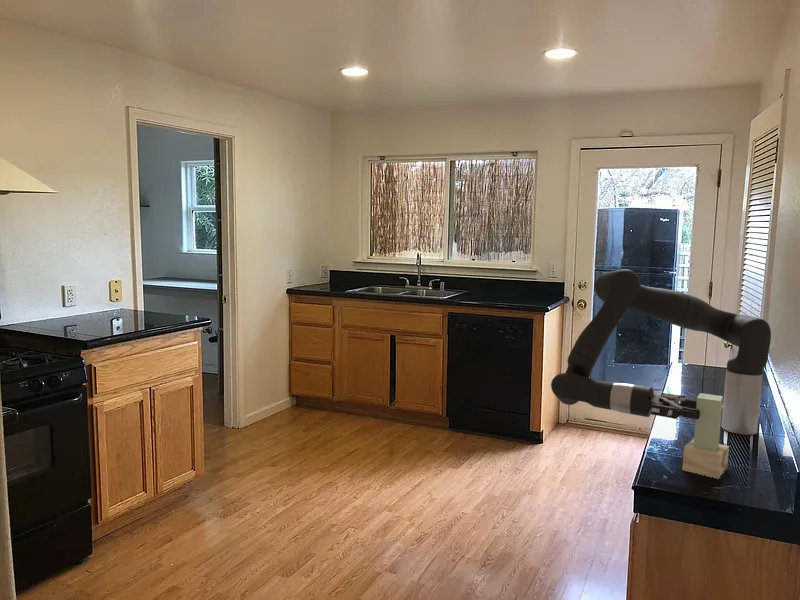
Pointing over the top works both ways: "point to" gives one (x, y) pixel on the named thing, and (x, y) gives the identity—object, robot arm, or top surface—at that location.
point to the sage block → (708, 421)
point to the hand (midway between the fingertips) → (702, 410)
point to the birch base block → (705, 460)
